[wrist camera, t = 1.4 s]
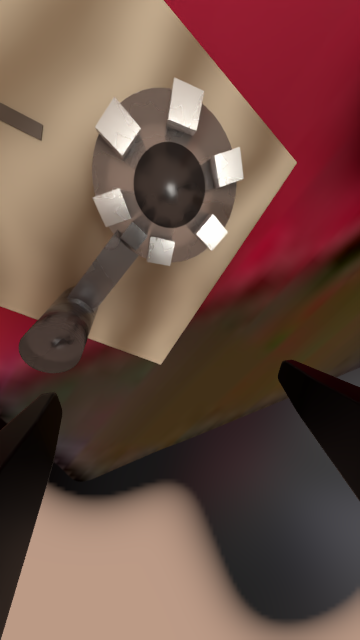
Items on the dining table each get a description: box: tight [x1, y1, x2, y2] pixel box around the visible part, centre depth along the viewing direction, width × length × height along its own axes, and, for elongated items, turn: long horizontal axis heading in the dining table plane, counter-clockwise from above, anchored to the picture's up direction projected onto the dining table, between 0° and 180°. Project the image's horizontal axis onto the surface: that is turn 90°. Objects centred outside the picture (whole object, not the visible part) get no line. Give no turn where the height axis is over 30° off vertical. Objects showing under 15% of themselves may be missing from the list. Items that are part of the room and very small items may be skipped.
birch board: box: [0, 0, 297, 364], centre depth 16 cm, size 22×22×2 cm
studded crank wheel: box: [19, 77, 244, 373], centre depth 13 cm, size 17×9×7 cm, turn 138°
